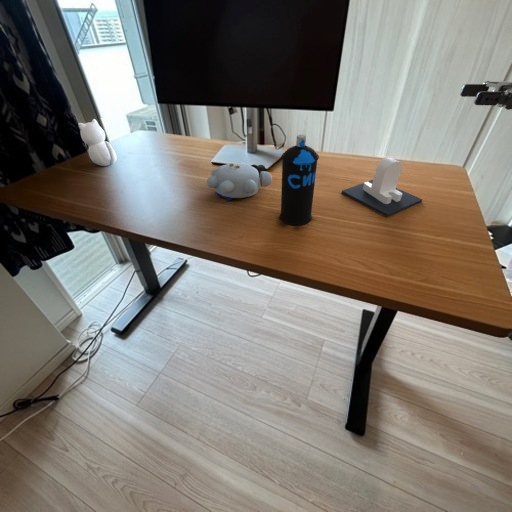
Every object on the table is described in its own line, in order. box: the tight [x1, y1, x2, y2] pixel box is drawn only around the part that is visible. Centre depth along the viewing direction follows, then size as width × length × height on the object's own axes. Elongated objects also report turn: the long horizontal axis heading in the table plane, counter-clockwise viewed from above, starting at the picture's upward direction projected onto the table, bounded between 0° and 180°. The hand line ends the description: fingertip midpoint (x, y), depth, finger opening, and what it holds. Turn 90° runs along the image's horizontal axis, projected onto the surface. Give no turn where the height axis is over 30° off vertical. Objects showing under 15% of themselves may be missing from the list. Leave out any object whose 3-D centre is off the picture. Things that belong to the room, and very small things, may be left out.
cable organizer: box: [363, 156, 403, 204], centre depth 72 cm, size 5×10×10 cm, turn 20°
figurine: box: [206, 162, 273, 202], centre depth 80 cm, size 17×8×20 cm
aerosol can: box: [279, 134, 320, 227], centre depth 63 cm, size 8×8×20 cm
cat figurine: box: [77, 118, 118, 167], centre depth 98 cm, size 9×12×15 cm
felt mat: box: [341, 179, 423, 218], centre depth 76 cm, size 16×14×1 cm
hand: (468, 94), depth 54 cm, fingers open, 8 cm apart
